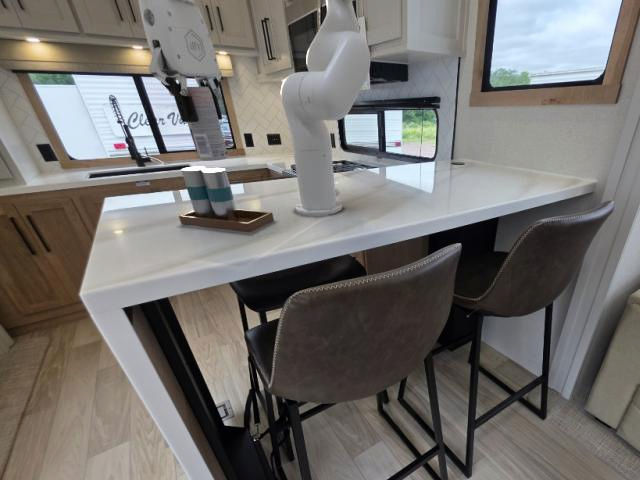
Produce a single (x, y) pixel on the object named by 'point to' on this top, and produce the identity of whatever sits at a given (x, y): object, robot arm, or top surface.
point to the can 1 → (198, 192)
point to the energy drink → (206, 126)
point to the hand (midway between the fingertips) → (202, 119)
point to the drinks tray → (246, 221)
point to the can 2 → (220, 194)
